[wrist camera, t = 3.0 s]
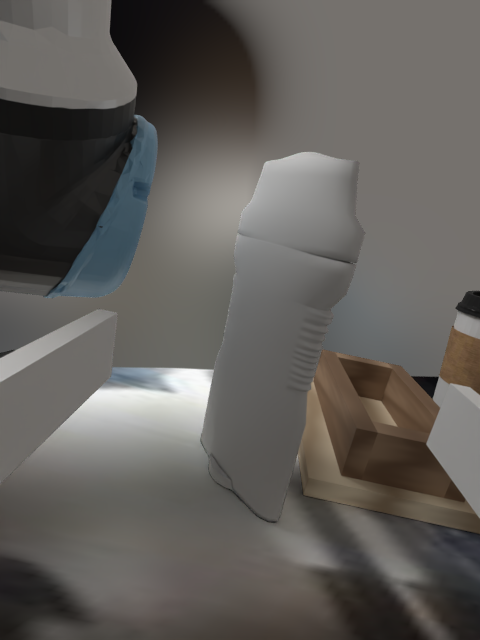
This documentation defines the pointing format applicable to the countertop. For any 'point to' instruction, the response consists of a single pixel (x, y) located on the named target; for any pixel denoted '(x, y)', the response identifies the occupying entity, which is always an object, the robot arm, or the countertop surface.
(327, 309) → the tall pale column
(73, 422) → the countertop surface
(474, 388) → the coffee cup
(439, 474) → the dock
